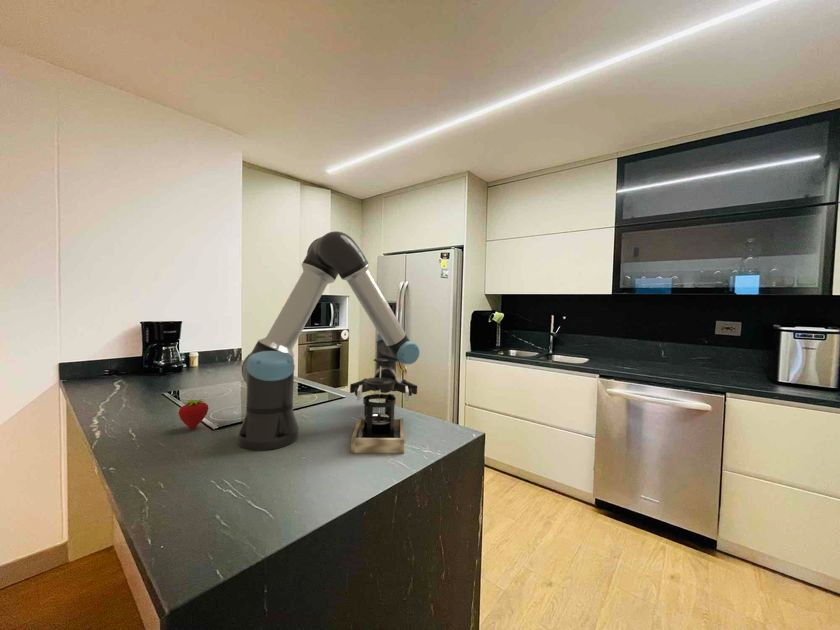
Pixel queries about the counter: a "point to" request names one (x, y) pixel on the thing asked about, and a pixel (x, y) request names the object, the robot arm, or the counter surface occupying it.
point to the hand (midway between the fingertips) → (383, 396)
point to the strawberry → (193, 412)
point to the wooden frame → (378, 440)
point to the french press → (379, 422)
